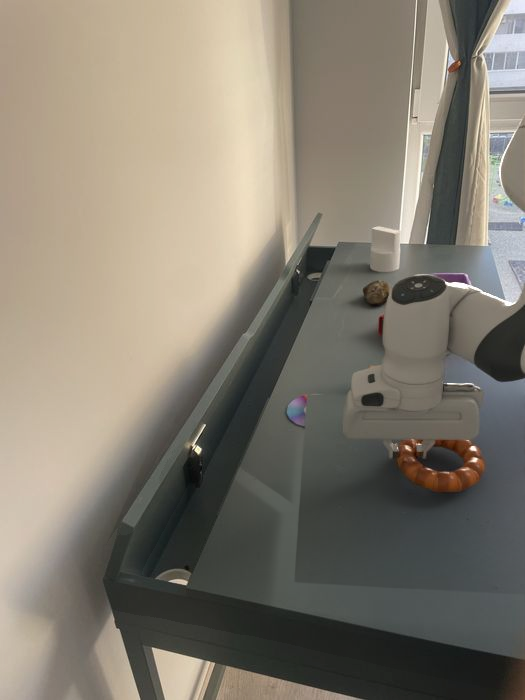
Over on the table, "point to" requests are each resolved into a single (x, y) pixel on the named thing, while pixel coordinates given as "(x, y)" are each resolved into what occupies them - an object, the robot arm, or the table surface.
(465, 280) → the dollhouse room
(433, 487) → the ring
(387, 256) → the cylinder with rectangular tab
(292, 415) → the cd
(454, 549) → the table surface
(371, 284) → the fossilized seashell
